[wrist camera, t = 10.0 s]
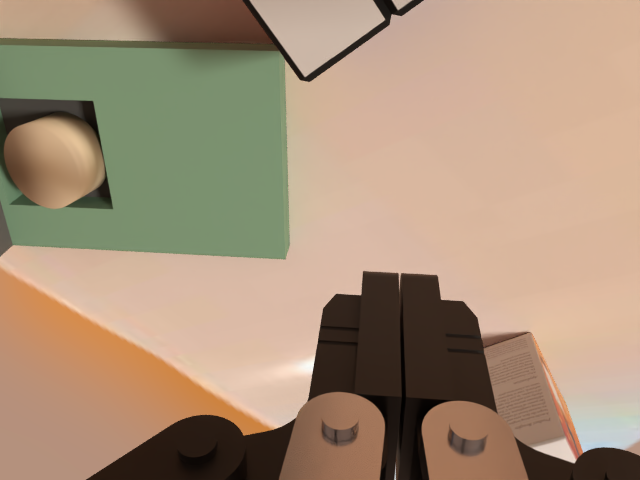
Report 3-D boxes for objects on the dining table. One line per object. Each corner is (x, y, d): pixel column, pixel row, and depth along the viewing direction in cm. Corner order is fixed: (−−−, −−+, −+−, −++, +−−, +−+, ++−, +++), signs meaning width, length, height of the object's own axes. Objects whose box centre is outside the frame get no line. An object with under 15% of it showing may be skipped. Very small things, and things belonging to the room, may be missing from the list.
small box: (566, 402, 48) (608, 520, 38) (498, 422, 49) (523, 539, 40) (531, 328, 45) (568, 437, 35) (460, 352, 46) (477, 462, 37)
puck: (29, 109, 40) (-7, 121, 37) (98, 114, 38) (66, 127, 36) (48, 188, 42) (17, 204, 40) (115, 195, 41) (86, 213, 38)
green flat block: (-43, 37, 38) (-98, 53, 34) (284, 44, 36) (269, 62, 32) (12, 231, 45) (-29, 265, 41) (289, 245, 43) (278, 283, 39)
